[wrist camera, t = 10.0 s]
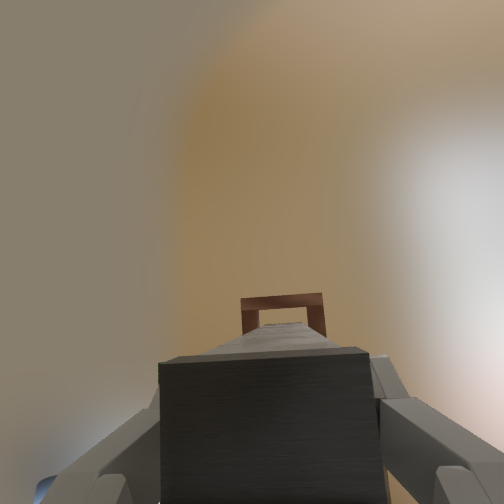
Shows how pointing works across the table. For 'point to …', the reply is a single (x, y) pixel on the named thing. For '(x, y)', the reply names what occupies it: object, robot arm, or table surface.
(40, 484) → the table surface
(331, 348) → the grey square bar
